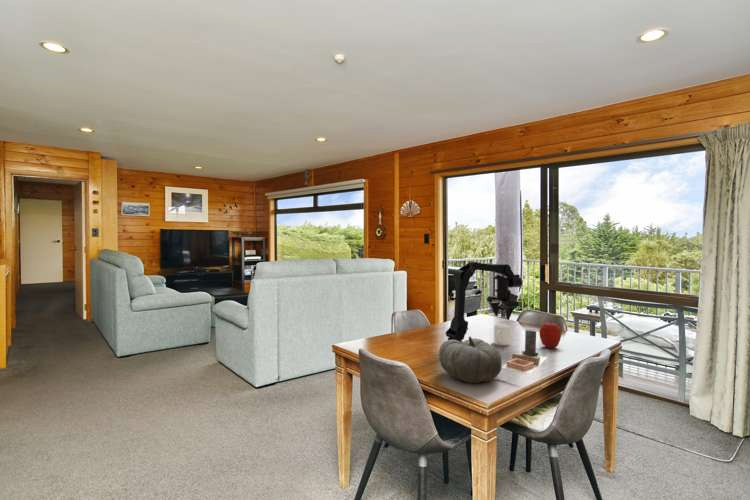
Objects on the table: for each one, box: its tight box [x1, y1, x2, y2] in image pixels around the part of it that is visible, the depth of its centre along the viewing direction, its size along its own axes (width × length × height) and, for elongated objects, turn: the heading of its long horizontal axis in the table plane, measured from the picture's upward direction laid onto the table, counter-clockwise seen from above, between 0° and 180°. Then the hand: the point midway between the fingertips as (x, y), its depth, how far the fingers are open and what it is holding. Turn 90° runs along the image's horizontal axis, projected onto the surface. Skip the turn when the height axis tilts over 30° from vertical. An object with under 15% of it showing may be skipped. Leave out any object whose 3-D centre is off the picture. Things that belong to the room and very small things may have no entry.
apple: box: [539, 322, 562, 349], centre depth 201 cm, size 10×10×14 cm
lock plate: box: [501, 352, 548, 375], centre depth 174 cm, size 28×12×4 cm, turn 143°
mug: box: [493, 323, 512, 346], centre depth 204 cm, size 12×8×10 cm
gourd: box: [438, 336, 503, 384], centre depth 157 cm, size 25×25×17 cm
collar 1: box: [506, 358, 534, 371], centre depth 168 cm, size 8×8×2 cm
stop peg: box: [524, 328, 537, 357], centre depth 179 cm, size 4×4×13 cm
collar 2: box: [520, 350, 541, 361], centre depth 180 cm, size 8×8×2 cm
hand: (502, 317), depth 204 cm, fingers open, 9 cm apart
